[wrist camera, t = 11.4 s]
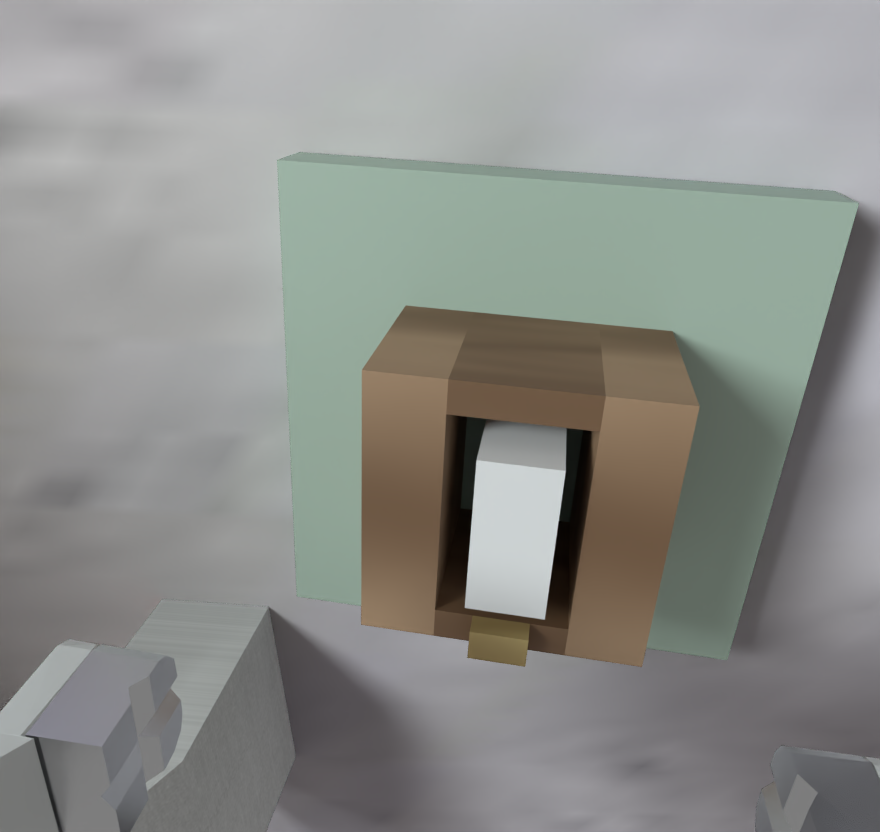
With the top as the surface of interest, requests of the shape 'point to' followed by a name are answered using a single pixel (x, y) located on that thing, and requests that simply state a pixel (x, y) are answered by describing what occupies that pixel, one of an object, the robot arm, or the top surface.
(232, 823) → the white boxy piece
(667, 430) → the open wooden frame
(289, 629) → the top surface
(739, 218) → the base
